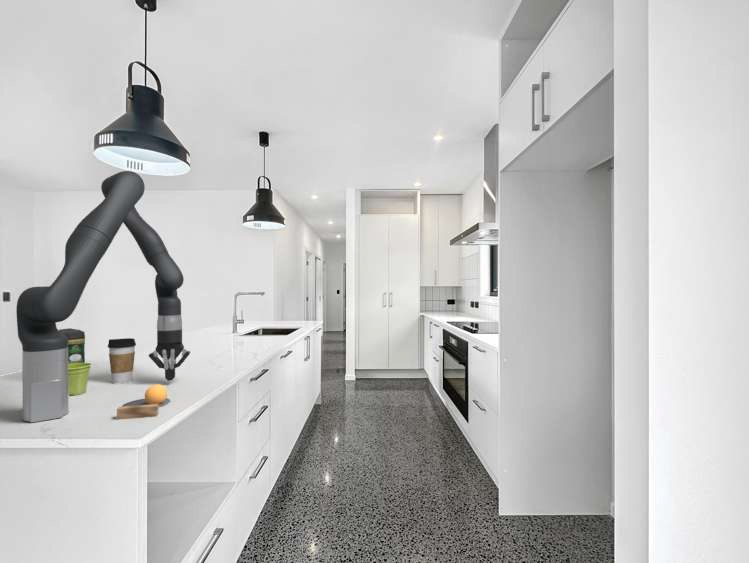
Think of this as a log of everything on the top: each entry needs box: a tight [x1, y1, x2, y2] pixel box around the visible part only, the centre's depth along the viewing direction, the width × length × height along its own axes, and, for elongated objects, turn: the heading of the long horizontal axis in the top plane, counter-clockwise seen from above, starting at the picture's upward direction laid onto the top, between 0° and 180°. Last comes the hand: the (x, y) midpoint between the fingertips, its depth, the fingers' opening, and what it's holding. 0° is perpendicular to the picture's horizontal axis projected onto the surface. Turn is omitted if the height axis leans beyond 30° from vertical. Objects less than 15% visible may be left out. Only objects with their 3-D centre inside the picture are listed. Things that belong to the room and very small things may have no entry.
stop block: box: [116, 404, 160, 420], centre depth 105 cm, size 9×2×3 cm, turn 104°
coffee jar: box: [58, 328, 86, 364], centre depth 144 cm, size 10×8×19 cm
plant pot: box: [68, 362, 93, 396], centre depth 128 cm, size 9×9×9 cm
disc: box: [121, 397, 171, 408], centre depth 116 cm, size 12×12×1 cm
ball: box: [144, 384, 168, 404], centre depth 115 cm, size 6×6×6 cm
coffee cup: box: [107, 337, 137, 384], centre depth 143 cm, size 8×8×15 cm
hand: (170, 380), depth 139 cm, fingers closed
